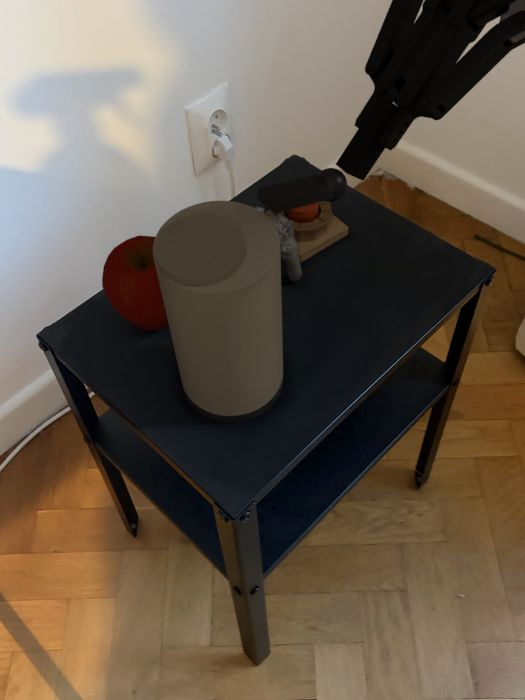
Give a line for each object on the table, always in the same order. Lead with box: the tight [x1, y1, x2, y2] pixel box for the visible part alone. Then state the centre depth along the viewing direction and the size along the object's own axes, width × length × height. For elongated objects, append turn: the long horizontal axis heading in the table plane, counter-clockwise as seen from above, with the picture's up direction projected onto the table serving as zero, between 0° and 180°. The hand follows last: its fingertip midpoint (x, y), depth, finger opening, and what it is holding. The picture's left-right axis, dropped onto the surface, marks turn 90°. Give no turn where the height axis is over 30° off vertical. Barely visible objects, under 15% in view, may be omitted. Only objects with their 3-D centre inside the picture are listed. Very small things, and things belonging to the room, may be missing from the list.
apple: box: [101, 235, 169, 331], centre depth 73 cm, size 9×8×11 cm
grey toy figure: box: [253, 205, 303, 282], centre depth 77 cm, size 9×12×8 cm
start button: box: [287, 202, 319, 223], centre depth 81 cm, size 4×4×2 cm
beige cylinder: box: [153, 200, 284, 423], centre depth 64 cm, size 10×10×20 cm
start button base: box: [264, 201, 349, 264], centre depth 83 cm, size 8×7×3 cm
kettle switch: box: [256, 167, 348, 214], centre depth 60 cm, size 3×8×3 cm, turn 127°
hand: (349, 172), depth 62 cm, fingers closed
